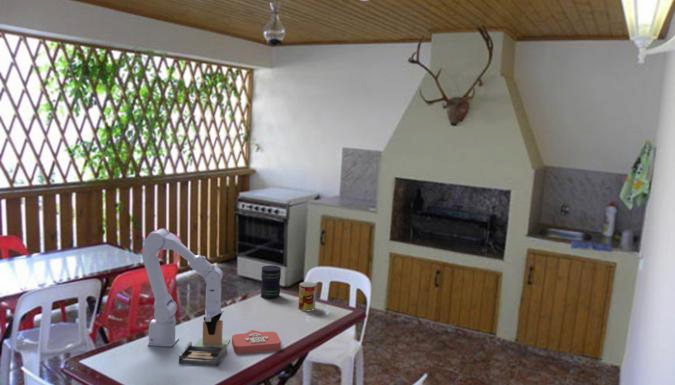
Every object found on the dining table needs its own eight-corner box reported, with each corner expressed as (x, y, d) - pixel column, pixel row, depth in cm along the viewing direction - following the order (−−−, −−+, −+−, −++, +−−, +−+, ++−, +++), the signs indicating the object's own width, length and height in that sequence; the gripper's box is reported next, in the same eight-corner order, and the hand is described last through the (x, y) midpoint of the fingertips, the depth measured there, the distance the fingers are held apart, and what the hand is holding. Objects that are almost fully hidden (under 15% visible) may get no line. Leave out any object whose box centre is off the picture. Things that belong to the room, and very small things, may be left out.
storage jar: (268, 300, 250) (269, 271, 248) (256, 295, 256) (257, 267, 255) (283, 296, 257) (285, 268, 256) (271, 292, 264) (272, 264, 262)
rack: (178, 363, 178) (178, 355, 177) (189, 349, 190) (189, 341, 189) (218, 366, 177) (218, 357, 177) (226, 351, 189) (226, 344, 189)
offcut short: (190, 360, 181) (190, 354, 181) (192, 357, 183) (192, 352, 183) (209, 361, 181) (210, 355, 181) (211, 358, 183) (211, 353, 183)
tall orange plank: (202, 344, 194) (203, 321, 193) (204, 341, 197) (204, 319, 196) (220, 345, 194) (221, 322, 193) (222, 342, 197) (222, 320, 196)
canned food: (297, 305, 245) (298, 281, 243) (313, 305, 246) (314, 281, 245) (299, 311, 237) (300, 286, 236) (315, 311, 238) (317, 286, 237)
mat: (193, 347, 192) (193, 346, 191) (199, 339, 199) (199, 338, 199) (224, 349, 191) (224, 348, 191) (229, 340, 199) (229, 340, 199)
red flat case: (274, 327, 207) (282, 341, 193) (274, 336, 208) (281, 351, 194) (230, 330, 202) (235, 345, 187) (230, 339, 202) (234, 355, 188)
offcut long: (186, 362, 179) (187, 357, 179) (188, 360, 181) (189, 354, 181) (211, 364, 179) (211, 359, 178) (213, 362, 181) (213, 356, 180)
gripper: (218, 305, 186) (217, 341, 188) (228, 293, 201) (227, 326, 202) (200, 304, 186) (199, 339, 188) (210, 292, 201) (209, 325, 202)
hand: (212, 332), depth 195 cm, fingers closed on tall orange plank, 2 cm apart
